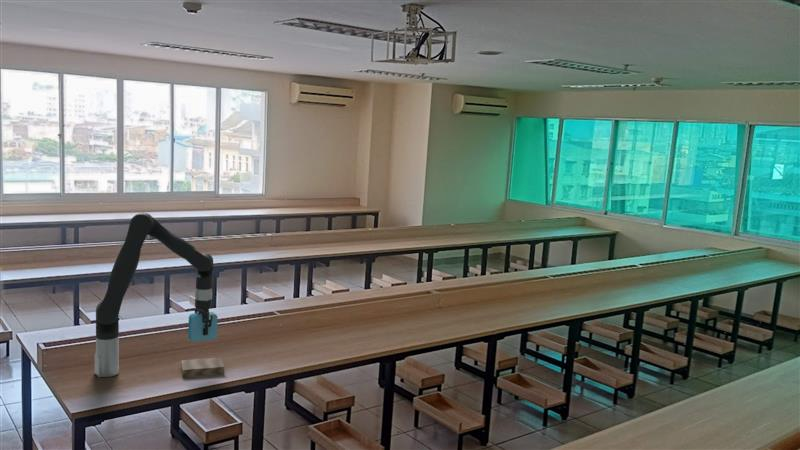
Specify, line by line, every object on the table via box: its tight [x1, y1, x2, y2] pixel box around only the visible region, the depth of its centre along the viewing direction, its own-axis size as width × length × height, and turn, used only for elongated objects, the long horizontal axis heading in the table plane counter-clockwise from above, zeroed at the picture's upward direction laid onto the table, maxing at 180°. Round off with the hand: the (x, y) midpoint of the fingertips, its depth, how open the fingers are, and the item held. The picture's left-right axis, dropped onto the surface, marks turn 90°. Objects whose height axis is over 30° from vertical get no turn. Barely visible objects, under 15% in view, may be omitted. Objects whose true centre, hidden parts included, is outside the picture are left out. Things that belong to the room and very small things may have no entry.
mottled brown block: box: [180, 357, 225, 378], centre depth 300 cm, size 18×12×4 cm, turn 112°
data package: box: [187, 311, 218, 343], centre depth 297 cm, size 12×4×12 cm, turn 125°
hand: (202, 333), depth 297 cm, fingers closed on data package, 5 cm apart
